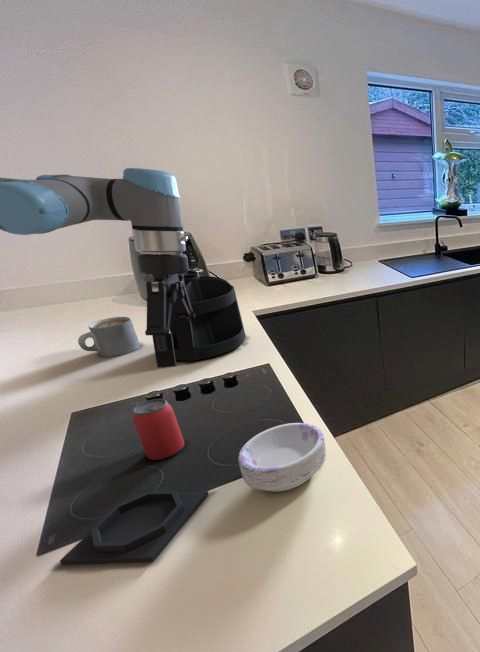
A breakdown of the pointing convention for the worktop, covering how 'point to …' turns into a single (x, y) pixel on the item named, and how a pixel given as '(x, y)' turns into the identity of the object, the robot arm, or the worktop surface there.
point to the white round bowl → (282, 457)
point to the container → (210, 318)
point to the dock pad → (136, 528)
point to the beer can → (157, 429)
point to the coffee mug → (111, 337)
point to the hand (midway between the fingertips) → (177, 356)
